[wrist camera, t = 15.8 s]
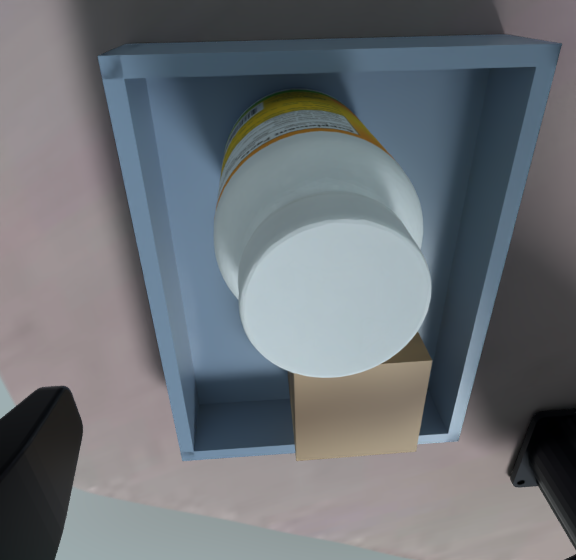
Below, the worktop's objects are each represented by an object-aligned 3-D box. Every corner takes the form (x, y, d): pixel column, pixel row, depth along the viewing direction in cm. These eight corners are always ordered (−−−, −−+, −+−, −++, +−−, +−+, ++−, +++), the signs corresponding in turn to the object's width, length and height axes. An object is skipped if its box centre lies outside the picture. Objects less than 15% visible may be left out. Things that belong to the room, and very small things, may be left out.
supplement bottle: (365, 218, 19) (454, 389, 11) (234, 232, 19) (224, 414, 11) (367, 78, 16) (488, 164, 8) (213, 92, 16) (178, 196, 8)
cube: (385, 369, 24) (415, 451, 19) (287, 376, 23) (296, 461, 19) (395, 286, 21) (432, 360, 17) (284, 293, 21) (294, 369, 17)
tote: (434, 388, 26) (458, 441, 23) (190, 404, 25) (182, 460, 22) (505, 34, 16) (562, 43, 14) (125, 44, 16) (97, 55, 13)
